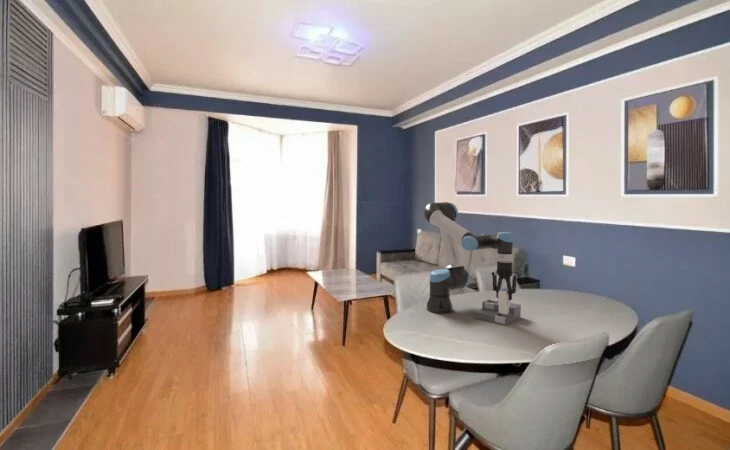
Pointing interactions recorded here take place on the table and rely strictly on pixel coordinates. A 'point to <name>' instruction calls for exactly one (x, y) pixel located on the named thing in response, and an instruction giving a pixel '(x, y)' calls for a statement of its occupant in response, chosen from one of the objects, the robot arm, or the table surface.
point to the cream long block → (503, 301)
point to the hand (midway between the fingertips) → (503, 305)
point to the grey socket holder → (492, 312)
